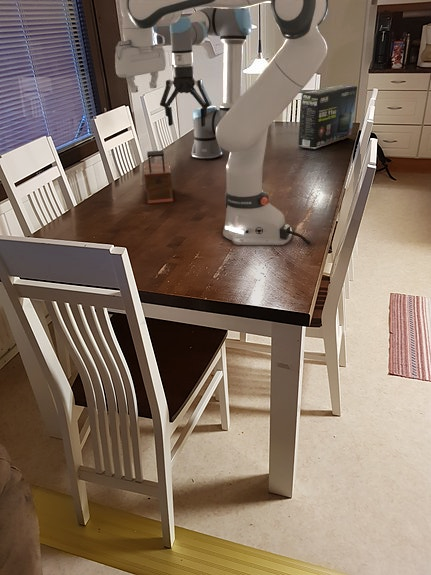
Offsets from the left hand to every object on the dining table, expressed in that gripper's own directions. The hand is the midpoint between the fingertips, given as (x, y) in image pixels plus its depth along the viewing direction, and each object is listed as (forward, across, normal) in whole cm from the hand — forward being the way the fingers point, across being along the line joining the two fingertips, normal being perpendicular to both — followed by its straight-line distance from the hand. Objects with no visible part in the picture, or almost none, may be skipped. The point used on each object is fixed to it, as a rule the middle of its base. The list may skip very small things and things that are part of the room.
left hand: (186, 125), depth 180 cm
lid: (+14, -8, -15) cm, 22 cm away
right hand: (-18, 0, -35) cm, 40 cm away
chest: (+24, -8, -14) cm, 29 cm away
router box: (+25, +48, +80) cm, 96 cm away
